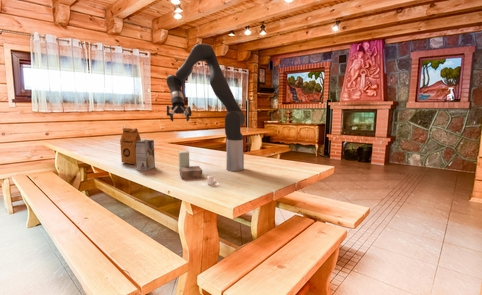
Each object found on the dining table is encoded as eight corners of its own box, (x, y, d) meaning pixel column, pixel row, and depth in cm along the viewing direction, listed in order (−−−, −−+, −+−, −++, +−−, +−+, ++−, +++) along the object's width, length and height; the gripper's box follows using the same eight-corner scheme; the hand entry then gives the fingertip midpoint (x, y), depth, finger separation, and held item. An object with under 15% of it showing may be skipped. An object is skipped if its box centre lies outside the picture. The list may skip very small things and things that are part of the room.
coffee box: (145, 166, 157) (144, 139, 154) (155, 167, 156) (154, 140, 153) (136, 170, 148) (134, 141, 145) (146, 170, 147) (145, 142, 144)
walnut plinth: (198, 173, 143) (198, 165, 142) (202, 177, 133) (202, 170, 133) (179, 174, 139) (179, 167, 139) (182, 179, 130) (181, 171, 129)
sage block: (188, 170, 149) (187, 150, 147) (189, 172, 144) (189, 152, 143) (179, 170, 147) (178, 151, 146) (180, 172, 143) (179, 152, 141)
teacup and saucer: (210, 181, 129) (210, 173, 128) (223, 184, 124) (223, 175, 124) (197, 185, 122) (197, 177, 121) (211, 188, 117) (210, 179, 117)
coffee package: (133, 165, 158) (131, 129, 155) (119, 163, 163) (116, 128, 160) (146, 162, 167) (144, 127, 163) (132, 160, 172) (130, 127, 169)
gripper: (165, 95, 156) (167, 116, 148) (190, 96, 162) (193, 116, 153) (165, 104, 162) (167, 124, 154) (188, 104, 167) (191, 124, 159)
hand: (180, 120), depth 153 cm, fingers open, 8 cm apart
